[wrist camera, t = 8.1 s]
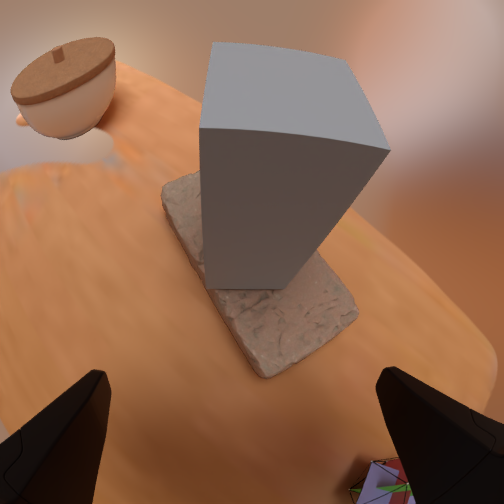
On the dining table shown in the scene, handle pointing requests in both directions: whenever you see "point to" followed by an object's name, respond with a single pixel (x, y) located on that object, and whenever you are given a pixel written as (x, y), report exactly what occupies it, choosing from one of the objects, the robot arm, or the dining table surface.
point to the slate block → (278, 160)
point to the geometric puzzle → (385, 485)
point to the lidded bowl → (67, 88)
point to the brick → (265, 295)
